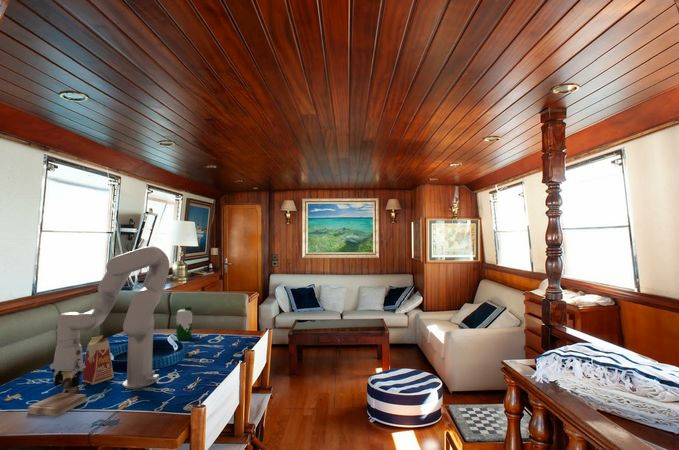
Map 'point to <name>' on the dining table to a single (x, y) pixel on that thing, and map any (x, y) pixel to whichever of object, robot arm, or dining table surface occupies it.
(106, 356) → the milk carton
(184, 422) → the dining table surface
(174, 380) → the dining table surface
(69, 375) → the hand bell
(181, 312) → the soya milk
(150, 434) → the dining table surface
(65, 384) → the brown bird figurine
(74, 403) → the tan wooden tray
